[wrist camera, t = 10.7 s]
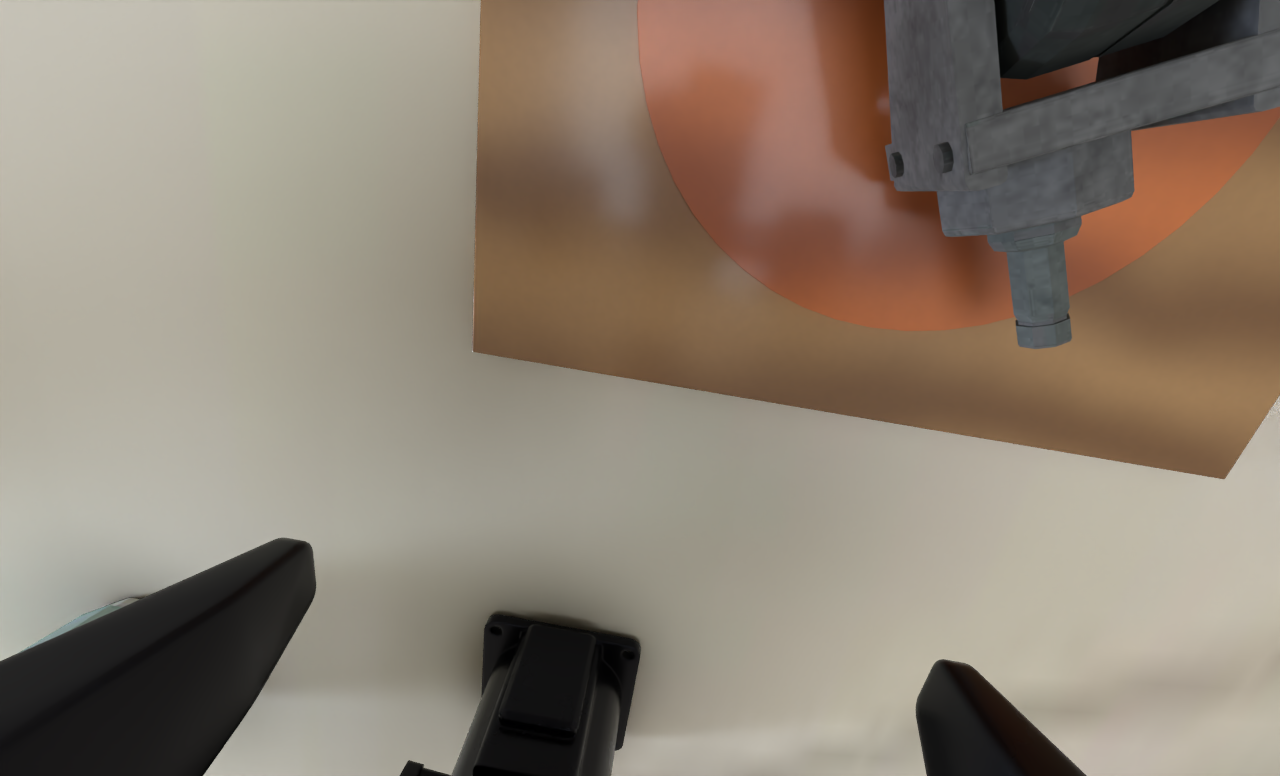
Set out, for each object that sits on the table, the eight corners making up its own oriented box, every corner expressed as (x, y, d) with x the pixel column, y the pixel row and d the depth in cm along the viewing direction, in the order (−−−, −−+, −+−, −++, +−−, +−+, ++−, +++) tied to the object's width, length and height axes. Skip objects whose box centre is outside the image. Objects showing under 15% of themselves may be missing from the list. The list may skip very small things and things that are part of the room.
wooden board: (1205, 466, 19) (1230, 483, 18) (479, 343, 20) (469, 354, 19) (1895, -628, 10) (2012, -703, 9) (513, -775, 11) (496, -857, 10)
